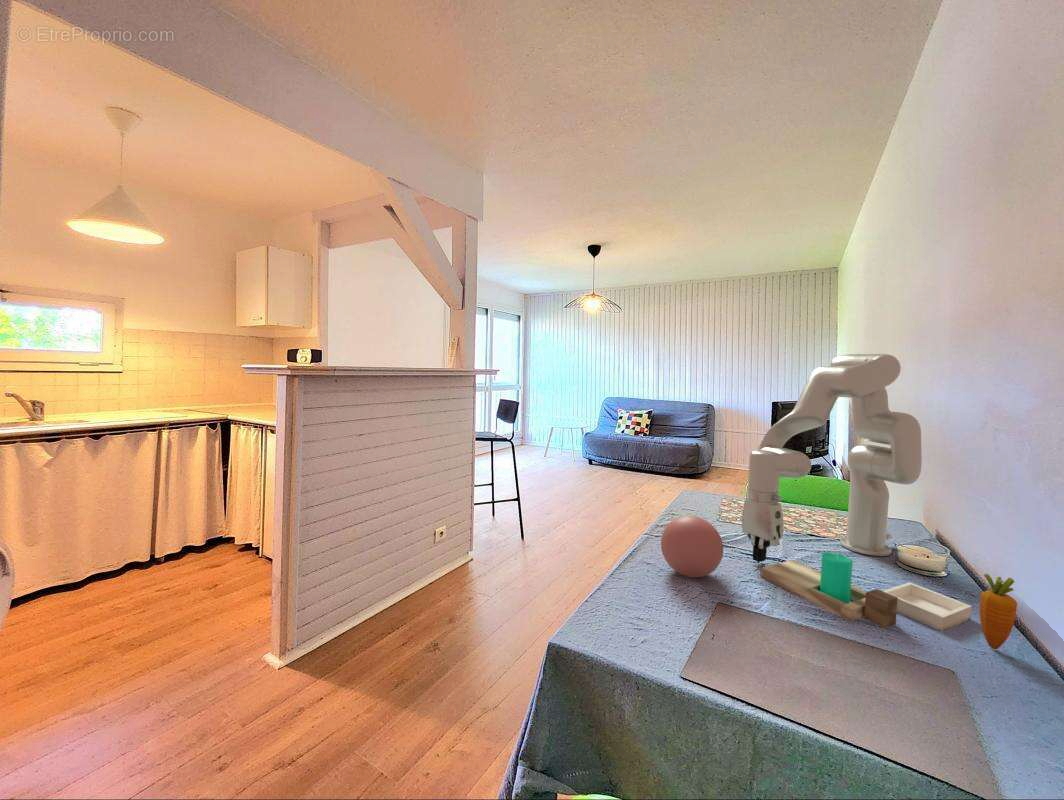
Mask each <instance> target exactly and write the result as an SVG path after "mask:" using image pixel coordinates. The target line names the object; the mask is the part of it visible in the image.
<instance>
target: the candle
mask: <svg viewBox="0 0 1064 800" xmlns="http://www.w3.org/2000/svg"><path fill="white" fill-rule="evenodd" d="M853 563H854V562H853V559H852V558H850V557H847V556H845V555H843V554H841V553H839V551H838V550H836V553H833V552H827V551H825V552H823V553H822V554H821V567H820V572H821V578H820V591H821V592H823V593H825V594H827V595H829V596H831V597H833V598H835V599H838V600H840V601H842V602H844V603H846V604H848V603H851V599H850V592H851V585H852V577H853Z"/></svg>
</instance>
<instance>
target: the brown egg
mask: <svg viewBox="0 0 1064 800" xmlns="http://www.w3.org/2000/svg"><path fill="white" fill-rule="evenodd" d="M660 538H661V539H660V549H661V552H662V553H661V554H662V556H663V557H664V560H665V561H666V563H667V565H668V566H669V567H670V568H672V570H674V571H675V572H676V573H678V574H680V575H681V576H685V577H688V578H702V577H706V576H708V575H710V574H712V573H713V572H714V571H715V570H717V568H718V567H719V566H720V564H721V562H722V559H723V557H724V556H723V555H724V544H723V543H724V542H723V540H722V536H721V534H720V532H719V531H718V530H717V528H716V527H715V526H714V525H713V524H712V523H711V522H709V521H708V520H706V519H704V518H702V517H700V516H697V515H682V516H678V517H676V518H674V519H672V520H671V521H669V523H668V524H667V525H666V526H665V527H664V529H663V531H662V533H661V537H660Z"/></svg>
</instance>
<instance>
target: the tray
mask: <svg viewBox="0 0 1064 800" xmlns="http://www.w3.org/2000/svg"><path fill="white" fill-rule="evenodd" d="M882 591H883V592H886V593H888V594H891V595H893V596H895V597H898V601H897V613H900V614H902V615H904V616H907V617H909V618H911V619H913V620H916V621H918V622H920V623H922V624H925V625H927V626H929V627H931V628H933V629H936V630H938V631H941V632H943V631H947V630H949V629H951V628H952V627H955V626H958V625H961V624H962V622H963V623H965V622H968V621H969V620H968V619H970V618H972V608H973V606H972V605H970V604H967V603H964V602H963V601H959V600H957V599H955V598H952V597H949V596H947V595H944V594H942V593H939V592H936V591H933V590H931V589H929V588H926V587H924V586H920V585H919V584H916V583H912V582H911V581H909V582H906V583H903V584H899V585H897V586H894V587H891V588H888V589H884V590H882ZM970 620H971V619H970Z"/></svg>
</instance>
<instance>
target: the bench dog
mask: <svg viewBox="0 0 1064 800" xmlns="http://www.w3.org/2000/svg"><path fill="white" fill-rule="evenodd" d="M883 591H884V590H881V589H879V588H875V589H873V590H869V591H866V598H865V611H864V617H863V620H866V621H868V622H870V623H872V624H874V625H876V626H878V627H880V628H882V629H888V628H889V627H893V626H896V623H897V613H898V612H897V601H898V597H895V596H893V595H891V594H888V593H886V592H883ZM887 627H888V628H887Z"/></svg>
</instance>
